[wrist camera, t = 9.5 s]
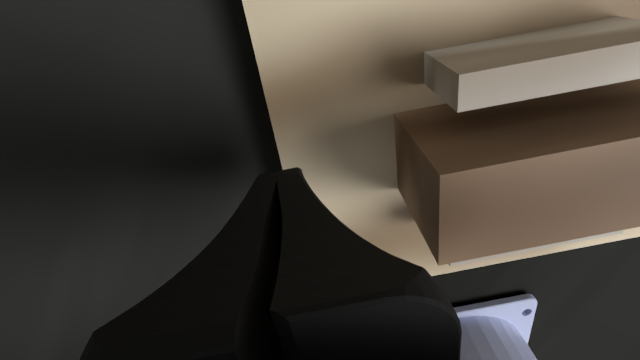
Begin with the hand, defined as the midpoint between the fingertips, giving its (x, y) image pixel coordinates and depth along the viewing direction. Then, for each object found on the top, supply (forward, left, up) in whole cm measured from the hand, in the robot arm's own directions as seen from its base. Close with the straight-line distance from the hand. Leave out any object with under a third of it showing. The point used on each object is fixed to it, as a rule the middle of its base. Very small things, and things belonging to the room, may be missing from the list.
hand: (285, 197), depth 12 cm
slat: (0, -12, -1) cm, 12 cm away
